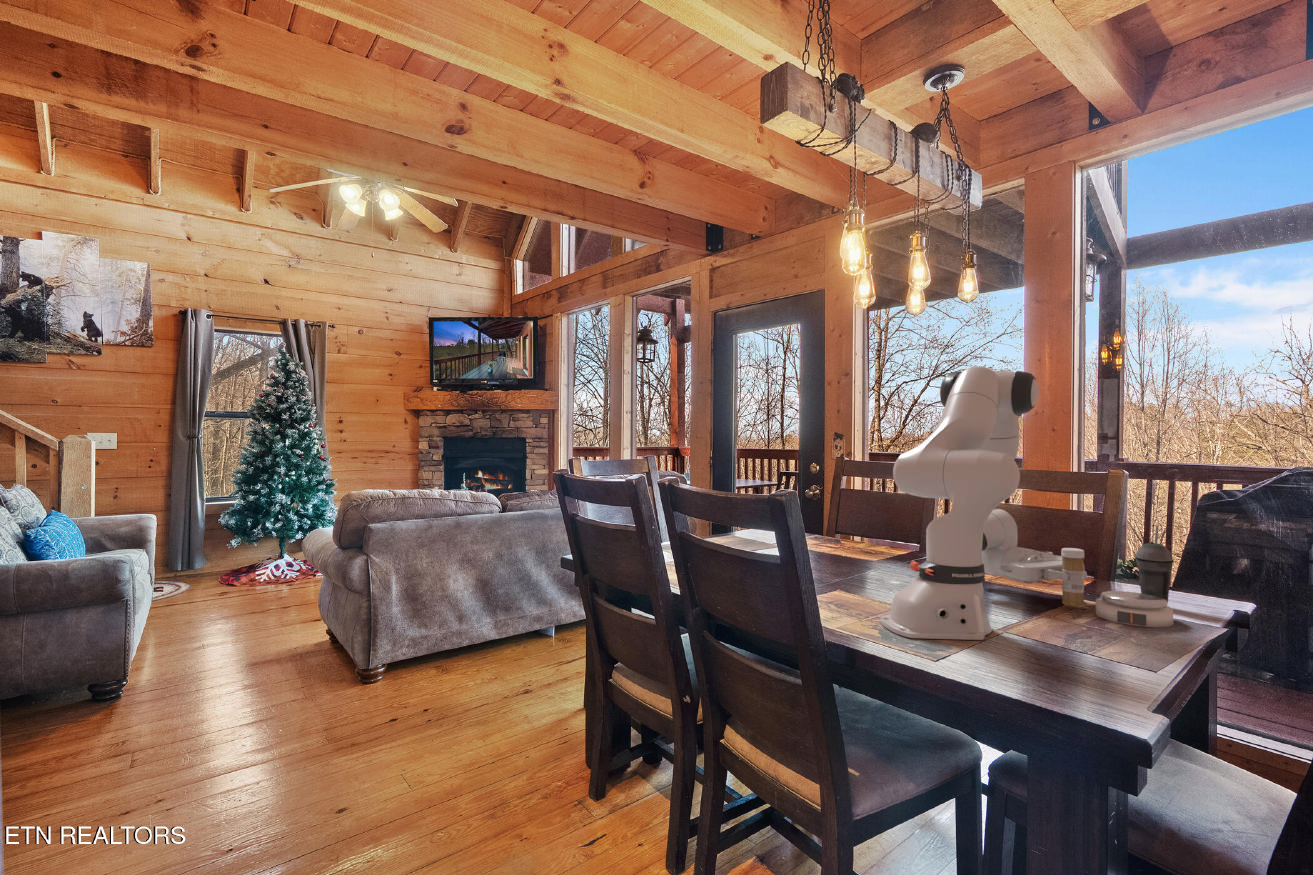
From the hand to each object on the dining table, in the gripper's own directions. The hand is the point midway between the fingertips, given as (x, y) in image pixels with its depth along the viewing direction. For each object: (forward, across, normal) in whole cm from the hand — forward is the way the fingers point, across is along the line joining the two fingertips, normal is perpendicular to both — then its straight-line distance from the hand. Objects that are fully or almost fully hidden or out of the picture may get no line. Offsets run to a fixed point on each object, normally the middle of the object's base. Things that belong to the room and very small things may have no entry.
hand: (1076, 576), depth 146 cm
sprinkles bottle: (-1, 0, +7) cm, 7 cm away
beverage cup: (+4, +21, +8) cm, 23 cm away
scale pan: (+9, +6, +4) cm, 12 cm away
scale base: (+9, +6, +8) cm, 13 cm away
